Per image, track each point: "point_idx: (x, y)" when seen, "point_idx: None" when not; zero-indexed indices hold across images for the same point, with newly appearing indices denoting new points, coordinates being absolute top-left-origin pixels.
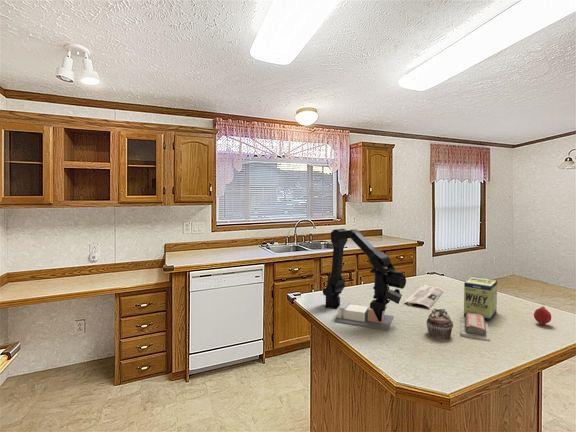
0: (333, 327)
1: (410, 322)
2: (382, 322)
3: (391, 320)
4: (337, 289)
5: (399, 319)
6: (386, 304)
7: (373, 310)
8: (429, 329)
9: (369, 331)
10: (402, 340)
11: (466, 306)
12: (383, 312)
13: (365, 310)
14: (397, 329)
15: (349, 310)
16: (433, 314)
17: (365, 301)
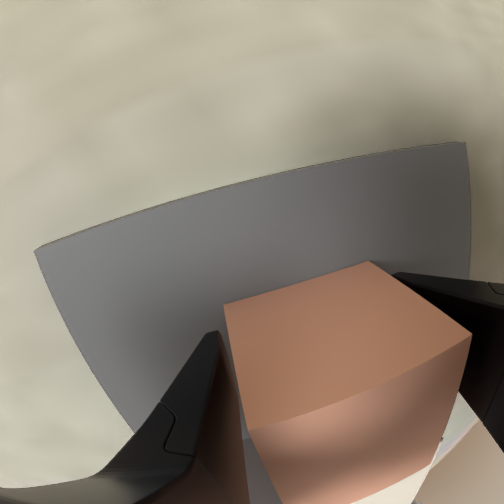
0: (475, 415)
1: (81, 10)
2: (349, 263)
3: (205, 197)
4: None
5: (56, 150)
6: (183, 479)
7: (443, 428)
8: None
9: (499, 266)
10: (499, 29)
11: None
12: (284, 358)
13: None
14: (386, 62)
15: (412, 498)
16: None
17: (14, 486)
